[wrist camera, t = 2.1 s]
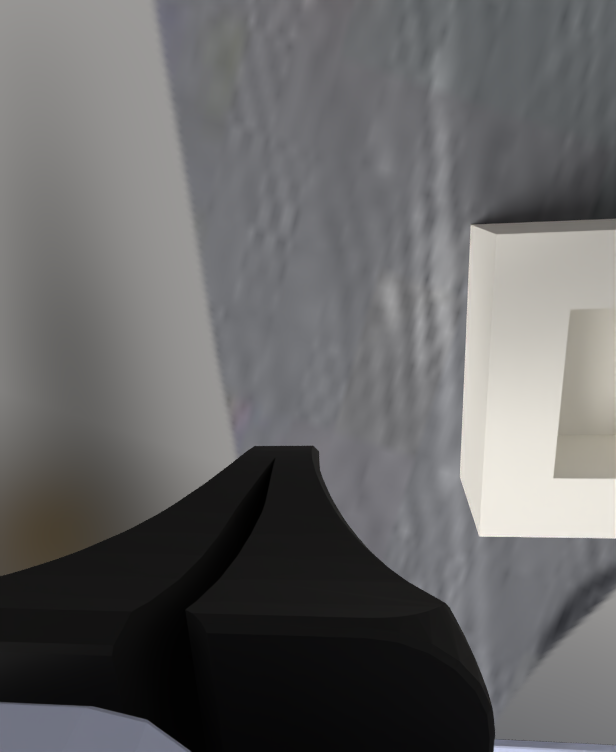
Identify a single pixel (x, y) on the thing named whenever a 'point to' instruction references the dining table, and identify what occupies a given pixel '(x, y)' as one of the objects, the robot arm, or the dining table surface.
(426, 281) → the dining table surface
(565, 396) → the block
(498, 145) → the dining table surface
